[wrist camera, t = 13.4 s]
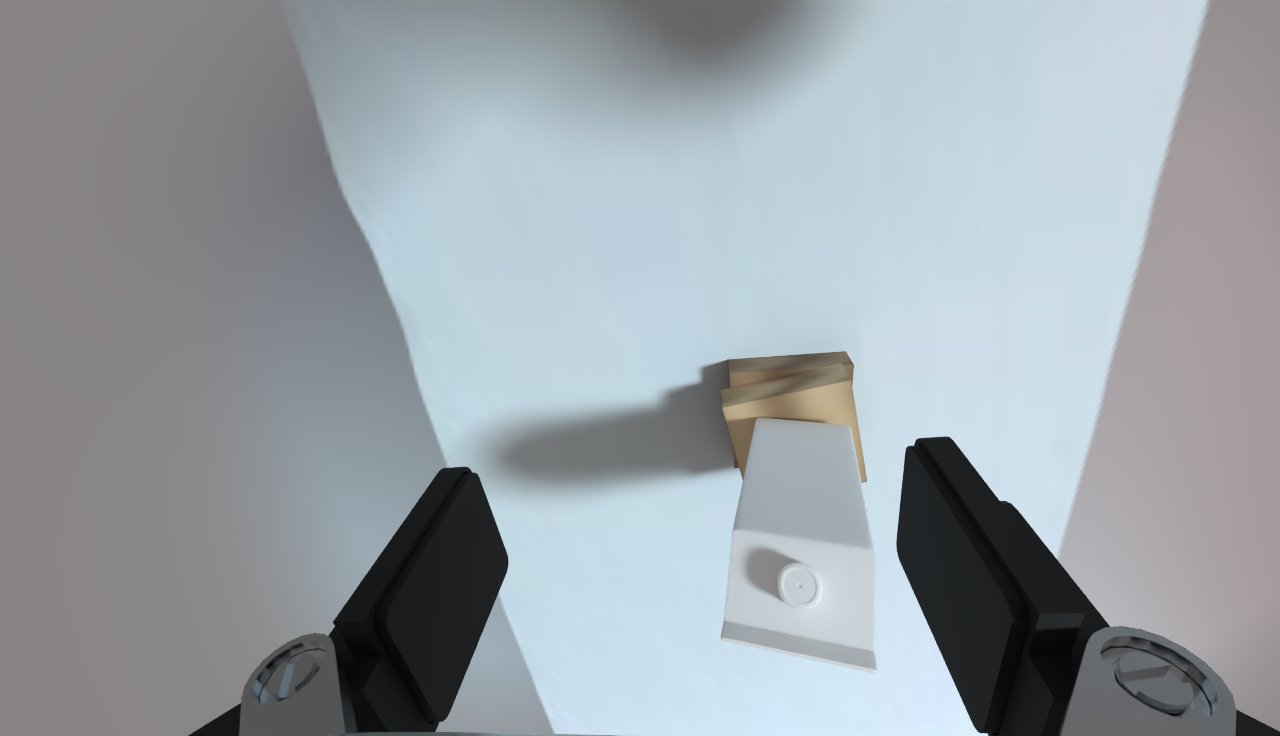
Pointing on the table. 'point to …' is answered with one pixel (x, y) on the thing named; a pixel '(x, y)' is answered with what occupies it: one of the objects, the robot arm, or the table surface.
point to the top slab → (792, 406)
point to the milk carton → (802, 548)
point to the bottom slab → (781, 368)
